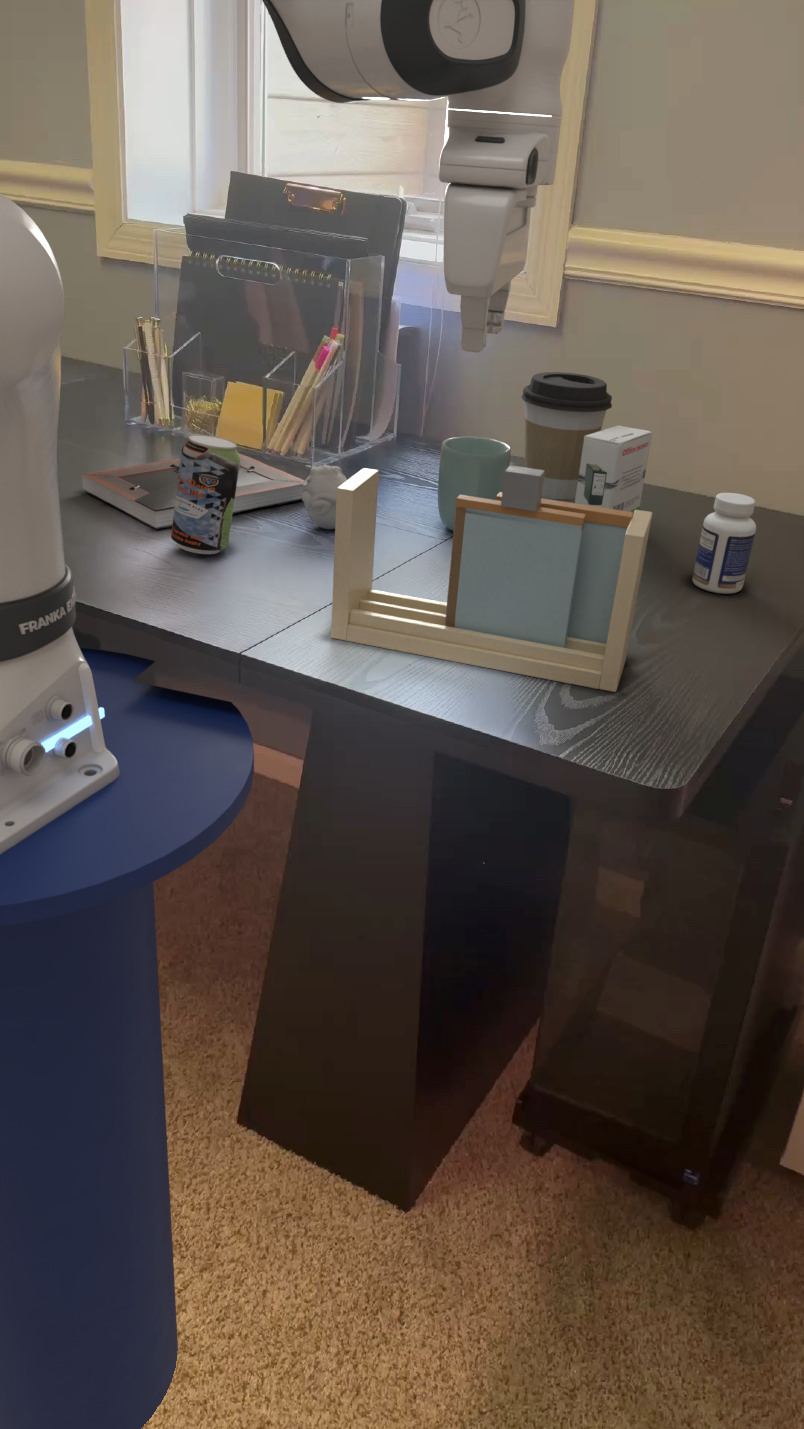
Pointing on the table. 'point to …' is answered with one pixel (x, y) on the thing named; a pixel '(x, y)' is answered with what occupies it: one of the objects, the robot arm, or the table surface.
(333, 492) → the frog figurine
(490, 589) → the window pane
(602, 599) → the window frame
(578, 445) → the coffee cup
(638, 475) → the ink box
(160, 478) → the picture frame
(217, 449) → the beverage can
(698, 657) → the table surface
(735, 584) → the pill bottle
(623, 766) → the table surface
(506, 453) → the cup
